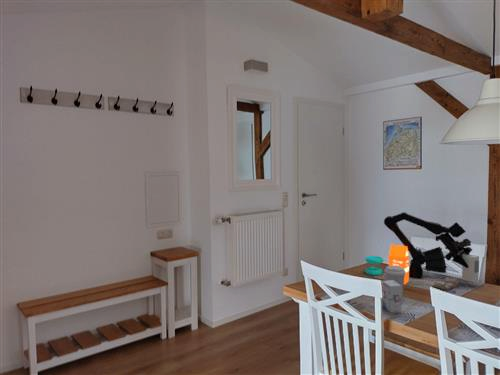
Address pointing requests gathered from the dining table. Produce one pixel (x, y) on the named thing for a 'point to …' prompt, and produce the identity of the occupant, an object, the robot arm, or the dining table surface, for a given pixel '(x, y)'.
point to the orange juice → (400, 259)
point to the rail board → (446, 284)
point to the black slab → (435, 260)
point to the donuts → (374, 270)
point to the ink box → (392, 296)
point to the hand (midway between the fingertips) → (470, 266)
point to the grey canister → (395, 275)
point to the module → (471, 268)
